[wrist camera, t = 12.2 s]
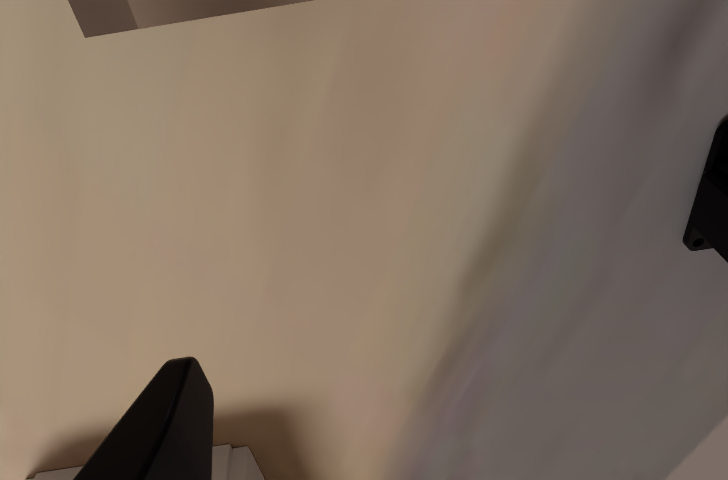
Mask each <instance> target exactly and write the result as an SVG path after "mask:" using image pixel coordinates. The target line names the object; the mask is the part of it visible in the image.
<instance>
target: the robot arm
mask: <svg viewBox="0 0 728 480" xmlns="http://www.w3.org/2000/svg"><path fill="white" fill-rule="evenodd" d="M696 239H697V240H696ZM683 243H684V245H685V246H686V247H687V248H688V249H689V250H691V251H698V250H704V249H711V248H714V249H715V250H716V251H717V252H718V253H719V254H720V255H721V256H722V257H723V258H724V259H725V260H726V261H727V262H728V120H727V121H725V122H724V123H722V124H721V125H720V126H719V127H718V128H717V130H716V132H715V135H714V139H713V142H712V145H711V148H710V152H709V155H708V158H707V162H706V165H705V168H704V171H703V175H702V177H701V181H700V184H699V187H698V191H697V194H696V197H695V200H694V204H693V207H692V210H691V214H690V217H689V221H688V224H687V227H686V230H685V234H684V237H683ZM213 412H214V398H213V392H212V388H211V386H210V384H209V382H208V380H207V378H206V376H205V374H204V372H203V370H202V368H201V366H200V364H199V362H198V361H197V359H195V358H194V357H184V358H177V359H172V360H169V361H167V362H166V363H165V364H164V365H163V366H162V367H161V368H160V370H159V371H158V372H157V374H156V375H155V376H154V377H153V379H152V380H151V381H150V382H149V384H148V385H147V386H146V387H145V389H144V390H143V391H142V392H141V394H140V395H139V396H138V398H137V399H136V400H135V401H134V403H133V404H132V405H131V406H130V408H129V409H128V410H127V411H126V413H125V414H124V415H123V417H122V418H121V419H120V420H119V422H118V423H117V424H116V425H115V427H114V428H113V429H112V430H111V432H110V433H109V434H108V436H107V437H106V438H105V439H104V441H103V442H102V443H101V444H100V446H99V447H98V448H97V449H96V451H95V452H94V453H93V455H92V456H91V457H90V458H89V460H88V461H87V462H86V463H85V465H84V466H83V467H82V468H81V470H80V471H79V472H78V474H77V475H76V476H75V477H74V479H73V480H212V448H213Z"/></svg>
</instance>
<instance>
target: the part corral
mask: <svg viewBox="0 0 728 480" xmlns="http://www.w3.org/2000/svg"><path fill="white" fill-rule="evenodd" d="M82 467H83V466H80V467H74V468H67V469H61V470H54V471H47V472H41V473H36V475H35V478H32V479H25V480H73V479H74V477H75V476H76V475H77V474H78V472H79V471H80V470H81V468H82ZM212 480H265V479H264V477H263V475H262V473H261V471H260V469H259V467H258V465H257V463H256V461H255V459H254V457H253V455H252V453H251V451H250V449H249V447H248V446H245V447H239V448H232V447H231V445H230V444H227V445H220V446H214V447H213V448H212Z"/></svg>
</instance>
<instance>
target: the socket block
mask: <svg viewBox="0 0 728 480" xmlns="http://www.w3.org/2000/svg"><path fill="white" fill-rule="evenodd" d="M68 1H69V3H70V5H71V8H72V10H73V12H74V14H75V17H76V19H77V21H78V23H79V25H80V28H81V30H82V32H83V34H84V37H85V38H87V37H93V36H99V35H105V34H111V33H117V32H123V31H129V30H135V29H141V28H148V27H154V26H160V25H166V24H172V23H178V22H184V21H190V20H196V19H202V18H208V17H214V16H221V15H227V14H233V13H239V12H245V11H251V10H257V9H263V8H269V7H275V6H281V5H287V4H294V3H300V2H306V1H312V0H68Z"/></svg>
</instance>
